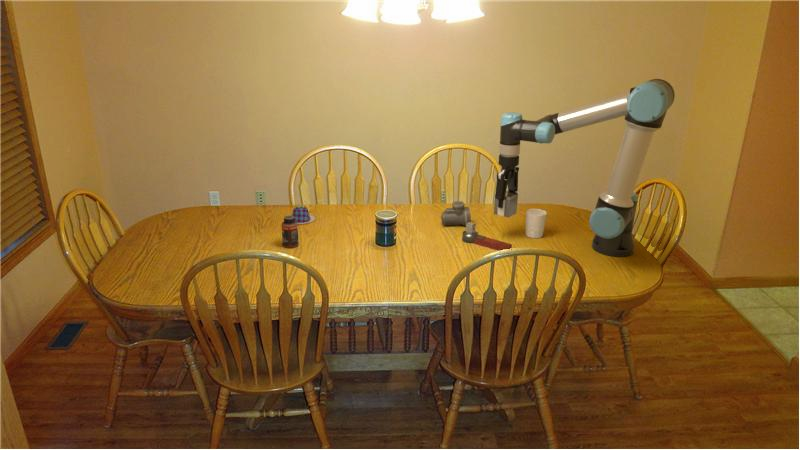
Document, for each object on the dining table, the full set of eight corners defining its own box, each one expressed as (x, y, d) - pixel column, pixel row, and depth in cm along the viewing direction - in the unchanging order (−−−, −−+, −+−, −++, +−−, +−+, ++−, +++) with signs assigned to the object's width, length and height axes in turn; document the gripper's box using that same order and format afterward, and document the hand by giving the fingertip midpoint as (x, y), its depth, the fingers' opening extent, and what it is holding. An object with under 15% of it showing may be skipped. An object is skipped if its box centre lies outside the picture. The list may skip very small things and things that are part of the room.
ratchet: (512, 249, 220) (514, 232, 218) (505, 254, 216) (506, 236, 213) (467, 236, 231) (468, 219, 229) (459, 240, 227) (460, 223, 224)
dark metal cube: (516, 213, 228) (517, 193, 225) (508, 217, 223) (510, 197, 220) (501, 209, 231) (503, 190, 229) (493, 214, 227) (495, 194, 224)
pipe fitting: (469, 220, 246) (468, 198, 242) (472, 229, 239) (471, 206, 234) (441, 223, 247) (439, 200, 242) (442, 231, 239) (441, 209, 235)
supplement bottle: (301, 243, 221) (300, 215, 217) (293, 249, 216) (292, 220, 212) (287, 241, 223) (286, 213, 219) (279, 247, 218) (278, 218, 214)
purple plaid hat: (317, 215, 250) (317, 204, 248) (312, 226, 239) (312, 213, 237) (289, 214, 250) (288, 203, 248) (283, 225, 239) (282, 213, 237)
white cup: (544, 240, 229) (547, 216, 226) (523, 238, 231) (526, 214, 227) (543, 232, 236) (546, 209, 233) (523, 230, 238) (526, 207, 234)
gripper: (512, 148, 228) (508, 204, 236) (487, 158, 214) (484, 217, 222) (529, 151, 224) (525, 208, 232) (505, 161, 210) (502, 221, 218)
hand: (505, 212), depth 227 cm, fingers closed on dark metal cube, 6 cm apart
